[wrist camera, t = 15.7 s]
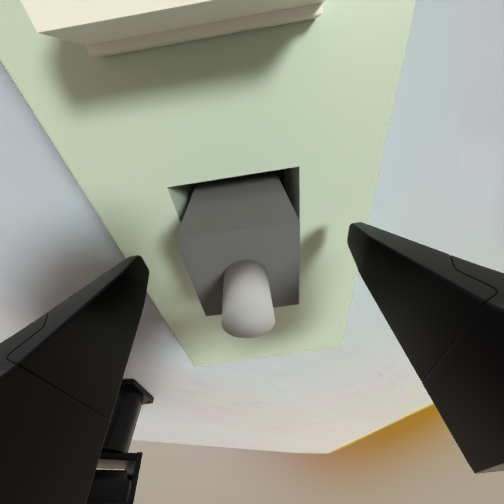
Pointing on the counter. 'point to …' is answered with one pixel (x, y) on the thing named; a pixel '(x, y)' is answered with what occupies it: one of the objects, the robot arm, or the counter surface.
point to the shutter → (158, 20)
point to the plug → (242, 250)
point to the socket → (226, 147)
